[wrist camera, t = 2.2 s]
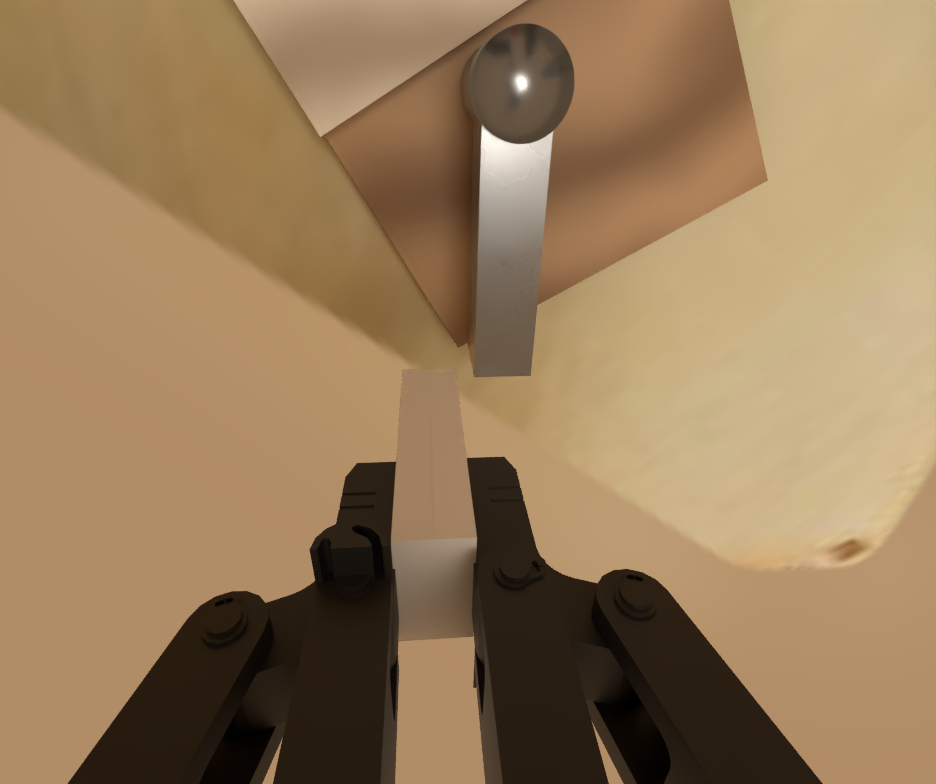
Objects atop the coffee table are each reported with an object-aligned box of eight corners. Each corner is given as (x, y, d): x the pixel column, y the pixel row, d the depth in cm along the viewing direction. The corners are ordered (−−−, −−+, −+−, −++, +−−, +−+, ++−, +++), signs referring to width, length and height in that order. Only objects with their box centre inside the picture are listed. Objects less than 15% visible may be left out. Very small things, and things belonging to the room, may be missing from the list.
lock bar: (461, 37, 19) (473, 21, 15) (544, 40, 19) (580, 25, 15) (457, 334, 25) (465, 383, 21) (521, 333, 26) (542, 382, 21)
